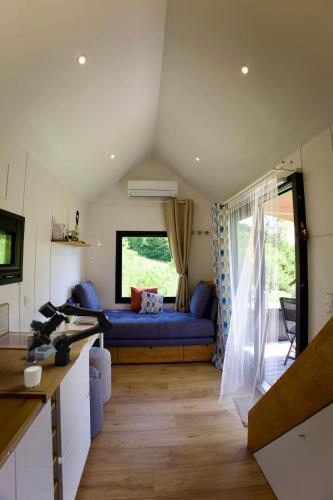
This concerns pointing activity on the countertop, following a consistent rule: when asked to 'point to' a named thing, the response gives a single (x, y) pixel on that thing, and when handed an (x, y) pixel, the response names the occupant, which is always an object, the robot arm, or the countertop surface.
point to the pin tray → (43, 352)
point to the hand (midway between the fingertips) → (27, 349)
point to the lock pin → (31, 354)
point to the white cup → (32, 376)
